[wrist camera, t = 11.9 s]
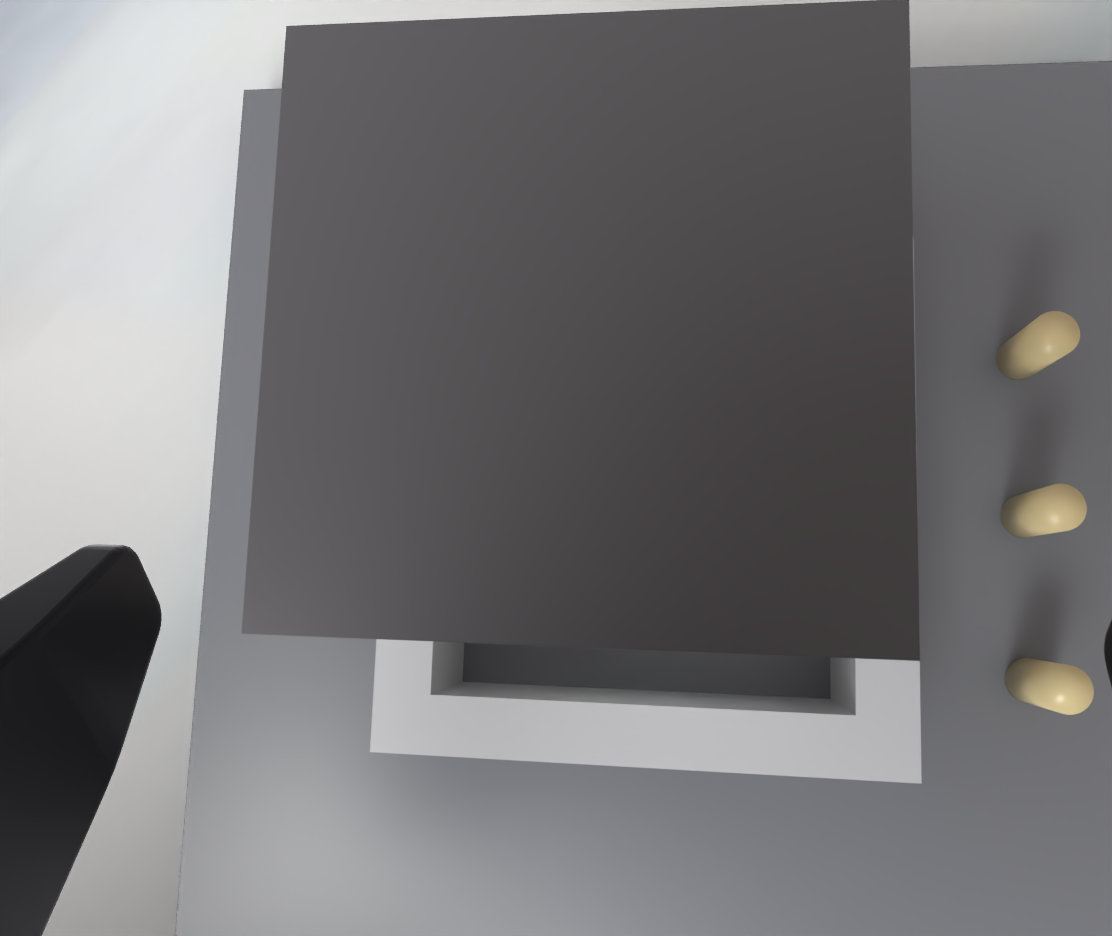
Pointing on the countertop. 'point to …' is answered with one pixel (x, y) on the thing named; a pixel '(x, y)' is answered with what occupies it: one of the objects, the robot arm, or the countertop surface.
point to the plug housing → (593, 334)
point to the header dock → (726, 678)
